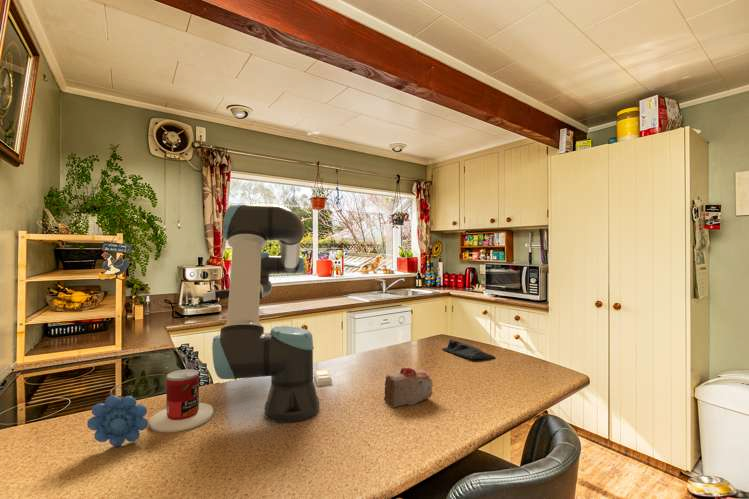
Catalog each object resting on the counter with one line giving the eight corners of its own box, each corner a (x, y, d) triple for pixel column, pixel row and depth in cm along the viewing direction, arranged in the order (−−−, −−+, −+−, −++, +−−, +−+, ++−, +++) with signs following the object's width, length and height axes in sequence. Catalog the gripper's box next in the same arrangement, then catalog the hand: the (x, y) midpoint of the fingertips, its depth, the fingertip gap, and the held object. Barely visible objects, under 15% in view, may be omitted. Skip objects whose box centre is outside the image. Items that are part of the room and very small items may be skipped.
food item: (419, 392, 115) (419, 361, 115) (434, 401, 108) (434, 368, 108) (382, 400, 109) (382, 368, 109) (396, 411, 102) (396, 376, 102)
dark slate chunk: (467, 363, 146) (467, 352, 146) (439, 350, 166) (439, 339, 166) (498, 359, 151) (498, 348, 151) (467, 346, 172) (467, 336, 172)
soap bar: (327, 376, 131) (327, 369, 131) (332, 385, 123) (332, 377, 123) (314, 378, 130) (314, 370, 130) (317, 387, 121) (317, 379, 121)
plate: (224, 414, 100) (224, 410, 100) (170, 438, 87) (170, 433, 87) (192, 402, 108) (192, 398, 108) (138, 423, 95) (138, 418, 95)
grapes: (84, 462, 77) (84, 406, 77) (88, 448, 83) (88, 396, 83) (148, 447, 83) (148, 395, 83) (148, 434, 89) (148, 385, 89)
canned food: (185, 421, 93) (185, 379, 93) (159, 419, 95) (159, 377, 95) (205, 409, 101) (205, 369, 101) (180, 406, 102) (180, 368, 102)
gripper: (280, 300, 142) (259, 308, 121) (219, 300, 144) (188, 308, 122) (280, 281, 142) (259, 286, 121) (219, 281, 144) (188, 286, 123)
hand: (223, 297), depth 122 cm, fingers open, 13 cm apart
